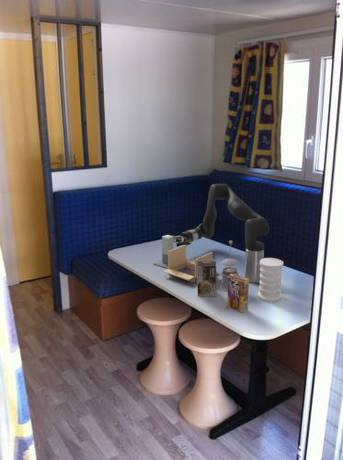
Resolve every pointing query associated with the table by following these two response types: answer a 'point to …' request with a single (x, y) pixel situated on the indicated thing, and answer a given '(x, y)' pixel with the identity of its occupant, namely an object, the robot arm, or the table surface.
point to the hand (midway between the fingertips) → (171, 243)
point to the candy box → (238, 292)
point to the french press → (228, 270)
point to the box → (166, 247)
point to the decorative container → (270, 280)
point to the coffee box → (206, 278)
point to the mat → (161, 264)
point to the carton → (184, 263)
